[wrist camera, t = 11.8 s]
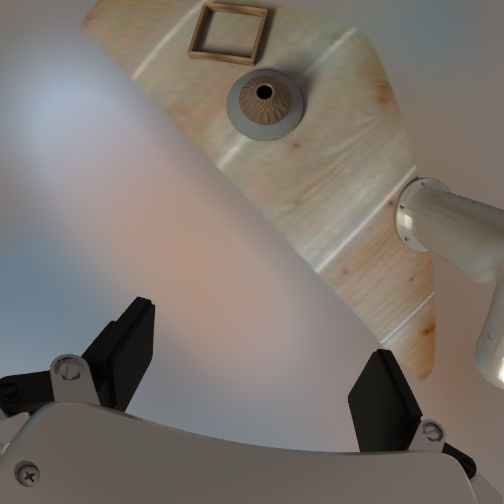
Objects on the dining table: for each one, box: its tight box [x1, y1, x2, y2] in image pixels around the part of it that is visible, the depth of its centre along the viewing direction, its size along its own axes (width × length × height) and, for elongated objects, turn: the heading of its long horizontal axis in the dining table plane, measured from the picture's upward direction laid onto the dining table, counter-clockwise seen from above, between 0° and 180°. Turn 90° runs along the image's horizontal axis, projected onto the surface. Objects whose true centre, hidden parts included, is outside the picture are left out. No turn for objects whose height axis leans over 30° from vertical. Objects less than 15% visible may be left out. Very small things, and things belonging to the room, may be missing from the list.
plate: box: [227, 70, 303, 141], centre depth 38 cm, size 11×11×1 cm
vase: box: [239, 75, 292, 125], centre depth 33 cm, size 7×7×9 cm
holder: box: [187, 3, 268, 66], centre depth 34 cm, size 10×10×2 cm
